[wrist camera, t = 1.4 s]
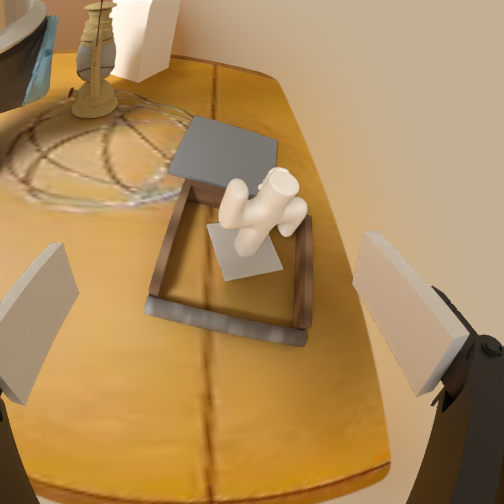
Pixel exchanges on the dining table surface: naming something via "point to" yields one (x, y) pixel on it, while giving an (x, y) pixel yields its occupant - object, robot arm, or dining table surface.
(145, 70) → the milk
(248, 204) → the figurine
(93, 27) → the lantern
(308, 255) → the walnut holder
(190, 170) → the slate pad
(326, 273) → the dining table surface
